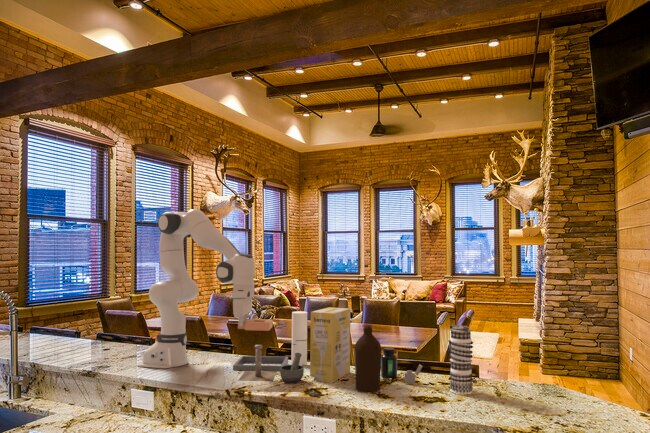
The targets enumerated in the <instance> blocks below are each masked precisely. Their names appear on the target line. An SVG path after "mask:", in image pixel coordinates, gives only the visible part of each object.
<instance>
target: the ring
mask: <svg viewBox="0 0 650 433" xmlns="http://www.w3.org/2000/svg"><path fill="white" fill-rule="evenodd" d="M273 321H274V319H267V318H265V319H262V318H261V319H260V318H259V319H256V318H249V319H247V320H244V326H239V320H237V329H238V330H244V331H265V332H267V331H270V330H271V329H272V328H273V327H274V326H273V325H274V324H273V323H274V322H273Z"/></svg>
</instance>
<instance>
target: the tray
mask: <svg viewBox="0 0 650 433" xmlns="http://www.w3.org/2000/svg"><path fill="white" fill-rule="evenodd" d="M255 364H256V355H241V356H240V357H239V358H238V359H237V361H235V362H234V364H233V365H232V370H233V371H255ZM284 365H289V357H288V356H279V355H277V356H275V355H273V356H272V355H271V356H270V355H261V372H280V367H281V366H284Z"/></svg>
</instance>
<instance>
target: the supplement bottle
mask: <svg viewBox="0 0 650 433" xmlns="http://www.w3.org/2000/svg"><path fill="white" fill-rule="evenodd" d="M395 351H396V350H395V348H394V347H383V351H382V354H381V371H380V378H382V377H383V379H385V378H395V379H397V378H398V357H397V355H396V354H395Z"/></svg>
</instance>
